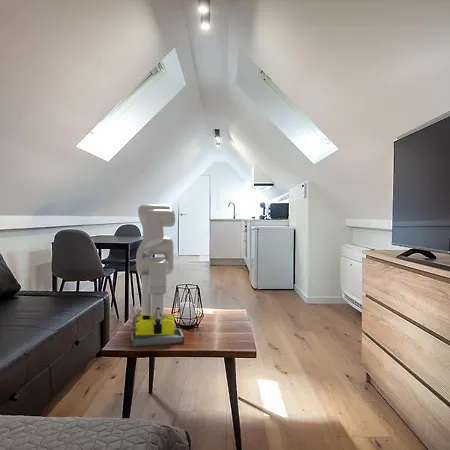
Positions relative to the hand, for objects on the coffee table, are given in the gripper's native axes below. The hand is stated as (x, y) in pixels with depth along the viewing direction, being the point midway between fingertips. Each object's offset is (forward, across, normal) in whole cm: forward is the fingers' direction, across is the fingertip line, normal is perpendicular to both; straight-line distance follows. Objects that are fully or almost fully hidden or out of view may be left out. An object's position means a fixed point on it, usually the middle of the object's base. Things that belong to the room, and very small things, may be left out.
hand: (157, 330), depth 153 cm
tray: (+4, 0, 0) cm, 4 cm away
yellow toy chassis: (+2, 0, -1) cm, 2 cm away
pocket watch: (+4, -13, -6) cm, 15 cm away
